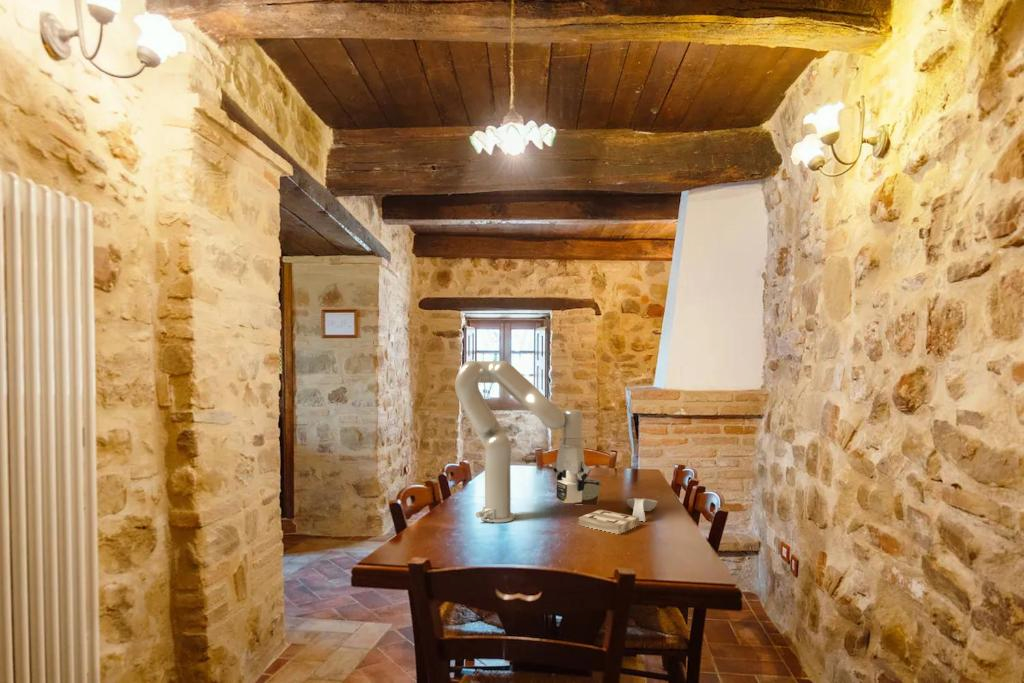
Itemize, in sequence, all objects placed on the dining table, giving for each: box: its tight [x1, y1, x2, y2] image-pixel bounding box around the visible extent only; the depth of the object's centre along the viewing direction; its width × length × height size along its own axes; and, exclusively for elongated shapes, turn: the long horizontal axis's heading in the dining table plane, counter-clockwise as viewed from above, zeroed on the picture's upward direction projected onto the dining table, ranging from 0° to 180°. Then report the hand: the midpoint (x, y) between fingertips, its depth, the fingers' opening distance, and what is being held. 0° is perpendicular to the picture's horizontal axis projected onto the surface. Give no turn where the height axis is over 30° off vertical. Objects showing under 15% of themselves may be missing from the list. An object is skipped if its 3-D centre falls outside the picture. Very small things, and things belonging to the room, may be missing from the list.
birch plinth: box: [578, 509, 640, 535], centre depth 193 cm, size 14×16×3 cm
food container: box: [573, 477, 602, 506], centre depth 225 cm, size 12×6×10 cm, turn 84°
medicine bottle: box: [555, 470, 582, 504], centre depth 206 cm, size 7×7×12 cm
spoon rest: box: [626, 497, 658, 523], centre depth 209 cm, size 24×12×7 cm, turn 164°
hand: (570, 488), depth 206 cm, fingers closed on medicine bottle, 9 cm apart
